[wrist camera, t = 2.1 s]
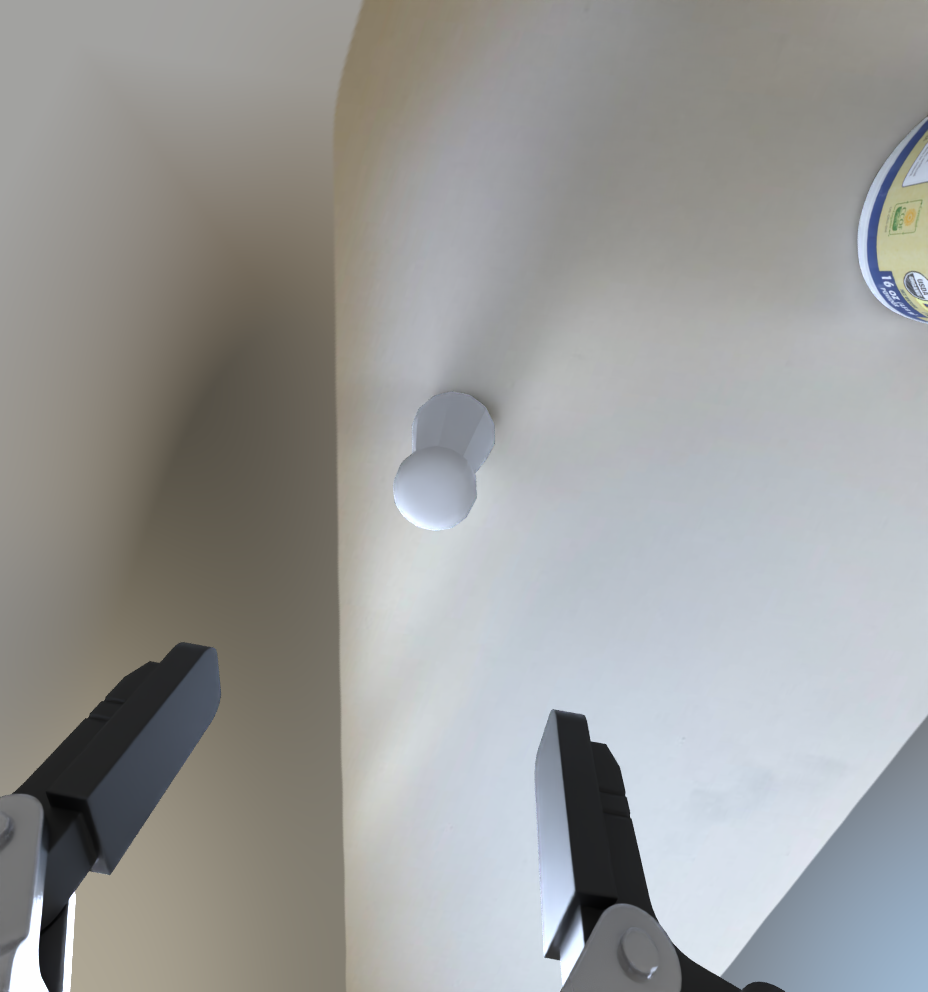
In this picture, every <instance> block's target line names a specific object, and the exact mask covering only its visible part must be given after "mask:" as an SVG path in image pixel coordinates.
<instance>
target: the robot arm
mask: <svg viewBox="0 0 928 992" xmlns="http://www.w3.org/2000/svg"><path fill="white" fill-rule="evenodd" d="M220 688H221V687H220V677H219V667H218V657H217V651H216V649H215V648H213V647H207V646H202V645H196V644H191V643H185V642H181V643H179V644H177V645H176V646H175V647H174V648H173V649H172V650H171V651H170V652H169V653H168V654H167V655H166V657H165V658H164V659H163V660H162V661H161V662H160V663H156V662H151V661H150V662H148V663H146V664H145V665H143V666H141V667H140V668H138V669H137V670H135V671H134V672H132V673H130V674H129V675H127V676H125V677H124V678H123V679H122V680H121V681H120V682H119V683H118V684H117V686H116V687H115V688H114V689H113V690H112V691H111V692H110V693H109V694H108V695H107V696H106V698H105V700H104V701H102V702H100V703H99V705H98V706H97V707H96V708H95V709H94V710H93V711H92V712H91V713H90V715H89V717H88V718H87V719H86V718H85V719H84V720H83V721H82V722H81V723H80V725H79V726H78V727H77V728H76V729H75V730H74V731H73V732H72V733H71V734H70V735H69V736H68V737H67V738H66V739H65V740H64V741H63V742H62V743H61V745H60V746H59V747H58V748H57V749H56V750H55V751H54V752H53V753H52V754H51V755H50V756H49V757H48V758H47V759H46V761H45V762H44V763H43V764H42V765H41V766H40V767H39V768H38V769H37V770H36V771H35V772H34V773H33V774H32V775H31V776H30V777H29V778H28V779H27V780H26V782H24V783H23V785H21V786H20V787H19V788H18V789H17V790H16V791H15V792H13V793H12V794H11V795H5V796H2V797H0V992H70V979H71V962H72V945H73V928H74V927H73V926H74V910H75V890H76V889H77V888H78V886H79V885H80V883H81V882H82V880H83V879H84V878H85V876H86V875H87V873H88V872H89V871H91V872H97V873H102V874H108V875H110V874H111V873H112V872H113V870H114V869H115V867H116V866H117V864H118V863H119V861H120V859H121V858H122V856H123V855H124V853H125V852H126V850H127V849H128V847H129V846H130V844H131V843H132V841H133V839H134V838H135V837H136V835H137V834H138V832H139V831H140V829H141V828H142V826H143V825H144V823H145V822H146V820H147V819H148V817H149V816H150V814H151V812H152V811H153V810H154V808H155V807H156V805H157V804H158V802H159V800H160V799H161V797H162V796H163V794H164V793H165V791H166V790H167V788H168V787H169V785H170V784H171V782H172V781H173V779H174V778H175V776H176V775H177V773H178V772H179V770H180V769H181V767H182V766H183V764H184V763H185V761H186V760H187V758H188V757H189V755H190V753H191V752H192V751H193V749H194V747H195V746H196V744H197V743H198V741H199V740H200V738H201V737H202V735H203V734H204V732H205V731H206V729H207V728H208V726H209V725H210V723H211V722H212V720H213V718H214V716H215V714H216V712H217V709H218V706H219V703H220V698H221V689H220ZM535 795H536V814H537V833H538V852H539V871H540V890H541V909H542V928H543V947H544V957H545V958H550V959H556V960H560V962H561V975H562V989H561V991H560V992H785V991H784V990H782V989H780V988H778V987H776V986H774V985H772V984H769V983H765V982H753V983H751V984H748V985H747V986H746V987H745V988H743V989H742V990H741V989H739V988H737V987H736V986H734V985H732V984H731V983H729V982H727V981H725V980H724V979H722V978H720V977H719V976H717V975H715V974H713V973H712V972H710V971H708V970H707V969H705V968H703V967H702V966H700V965H698V964H697V963H695V962H694V961H692V960H691V959H689V958H688V957H687V956H686V955H684V954H683V953H682V952H681V951H680V950H679V949H678V948H677V947H676V946H675V945H674V944H673V943H672V941H671V940H670V938H669V937H668V935H667V933H666V932H665V930H664V929H663V928H662V927H661V925H660V924H659V922H658V920H657V918H656V916H655V913H654V911H653V908H652V905H651V902H650V898H649V894H648V889H647V885H646V880H645V876H644V872H643V867H642V863H641V858H640V854H639V849H638V845H637V841H636V836H635V832H634V827H633V823H632V819H631V818H630V810H629V805H628V801H627V797H625V788H624V783H623V779H622V774H621V770H620V767H619V765H618V763H617V762H616V760H615V758H614V757H613V755H612V753H611V752H610V750H609V748H608V747H607V745H606V744H602V743H597V742H591V741H590V735H589V730H588V724H587V720H586V717H585V716H584V715H582V714H576V713H571V712H565V711H560V710H554V709H553V710H551V712H550V715H549V718H548V721H547V724H546V727H545V730H544V733H543V736H542V739H541V742H540V745H539V748H538V752H537V756H536V763H535Z"/></svg>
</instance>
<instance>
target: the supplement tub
mask: <svg viewBox="0 0 928 992" xmlns="http://www.w3.org/2000/svg"><path fill="white" fill-rule="evenodd" d="M858 257H859V264H860V268H861V271H862V274H863V277H864V279H865V281H866V283H867V285H868V287H869V288H870V290H871V291H872V293H873V294H874V295H875V297H876V298H877V299H878V300H879V301H880V302H881V303H882V304H883V305H885V306H886V307H888V308H889V309H890V310H892V311H894V312H896V313H898V314H900V315H902V316H904V317H907V318H909V319H912V320H915V321H918V322H922V323H928V116H927V117H926V118H925V119H923V120H922V121H921V122H920V123H919V124H918V125H917V126H916V127H915V128H914V129H913V130H912V131H911V132H910V133H909V134H908V135H907V136H906V137H905V138H904V139H903V140H902V141H901V143H900V144H899V145H898V146H897V147H896V148H895V150H894V151H893V152H892V154H891V155H890V156H889V157H888V159H887V160H886V162H885V163H884V165H883V166H882V168H881V169H880V171H879V172H878V174H877V176H876V177H875V179H874V181H873V183H872V185H871V187H870V190H869V192H868V195H867V197H866V200H865V203H864V206H863V210H862V213H861V217H860V222H859V228H858Z"/></svg>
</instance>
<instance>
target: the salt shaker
mask: <svg viewBox="0 0 928 992" xmlns="http://www.w3.org/2000/svg"><path fill="white" fill-rule="evenodd" d="M494 444H495V425H494V422H493V420H492V418H491V416H490V414H489V412H488V410H487V408H486V406H484V405H483V404H482V403H480V402H479V401H478V400H476V399H475V398H474V397H472V396H471V395H468V394H463V393H458V392H453V391H451V392H447V393H443V394H439V395H435V396H433V397H432V398H431V399H429V400H428V401H427V402H426V403H425V404H424V405H422V406H421V407H420V408H419V409H418V411H417V414H416V416H415V419H414V422H413V424H412V452H413V453H412V454H411V455H410V456H409V457H407V458H406V459H405V460H404V461H403V462H402V463H401V465H400V467H399V469H398V472H397V474H396V477H395V479H394V485H393V488H394V499H395V504H396V505H397V507H398V509H399V510H400V512H401V513H402V515H403V516H404V518H406V519H407V520H409V521H410V522H412V523H413V524H415V525H416V526H417V527H420V528H425V529H430V530H435V531H437V530H442V529H448V528H453V527H454V526H456V525H457V524H458V523H460V522H461V521H462V520H464V519H465V518H466V517H467V515H468V514H469V512H470V510H471V508H472V506H473V504H474V502H475V500H476V498H477V491H476V475H475V473H476V472H477V471H478V469H479V468H480V467H481V465H482V464H483V463H484V462H485V460H486V459H487V457H488V455H489V453H490V451H491V450H492V448H493V446H494Z"/></svg>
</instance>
